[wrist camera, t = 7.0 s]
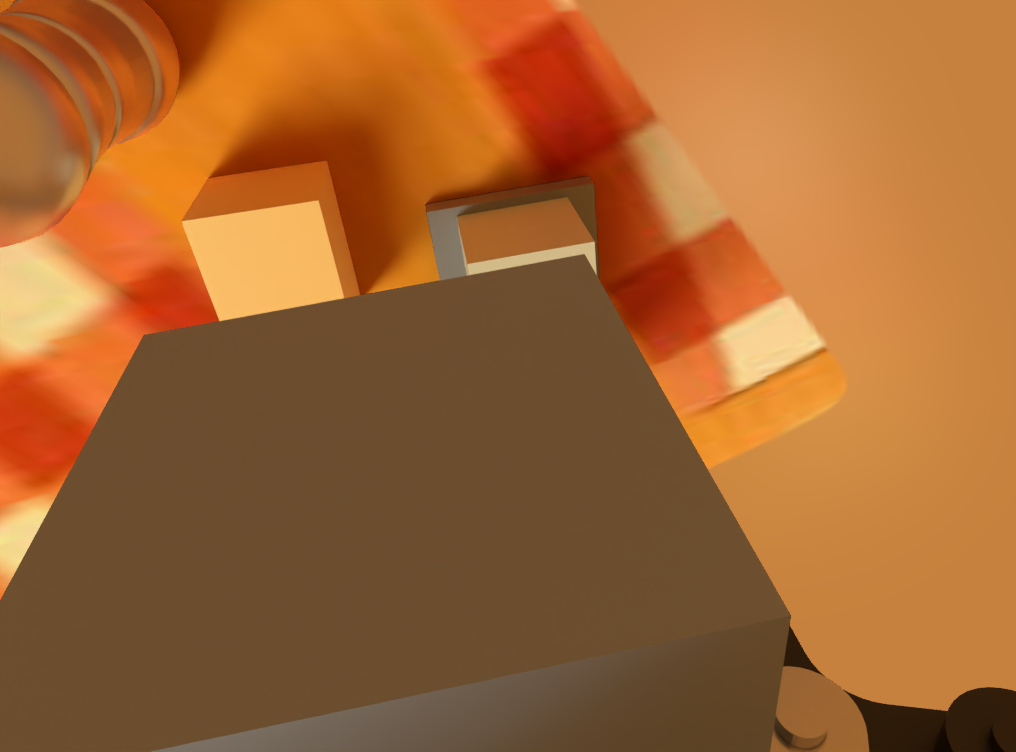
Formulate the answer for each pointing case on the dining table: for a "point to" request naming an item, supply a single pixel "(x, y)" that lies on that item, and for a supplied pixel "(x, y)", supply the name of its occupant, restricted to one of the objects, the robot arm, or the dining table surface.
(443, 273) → the tower base
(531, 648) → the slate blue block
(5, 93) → the plastic bottle
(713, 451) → the dining table surface
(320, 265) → the ochre block
